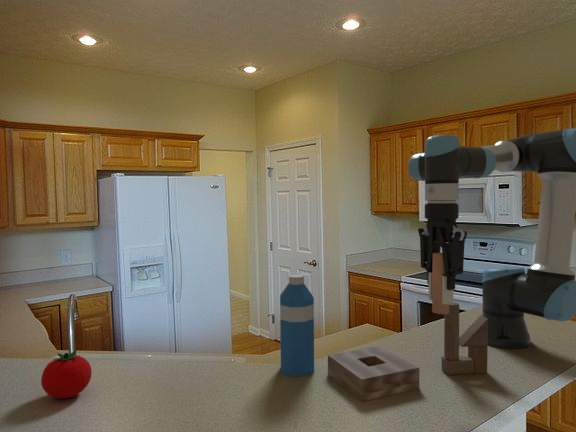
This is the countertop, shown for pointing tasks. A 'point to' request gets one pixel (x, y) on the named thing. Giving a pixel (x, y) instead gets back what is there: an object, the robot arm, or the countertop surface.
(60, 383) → the tomato
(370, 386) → the socket block
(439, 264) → the pin
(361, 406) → the countertop surface
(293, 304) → the water bottle
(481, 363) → the wooden block structure
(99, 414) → the countertop surface
